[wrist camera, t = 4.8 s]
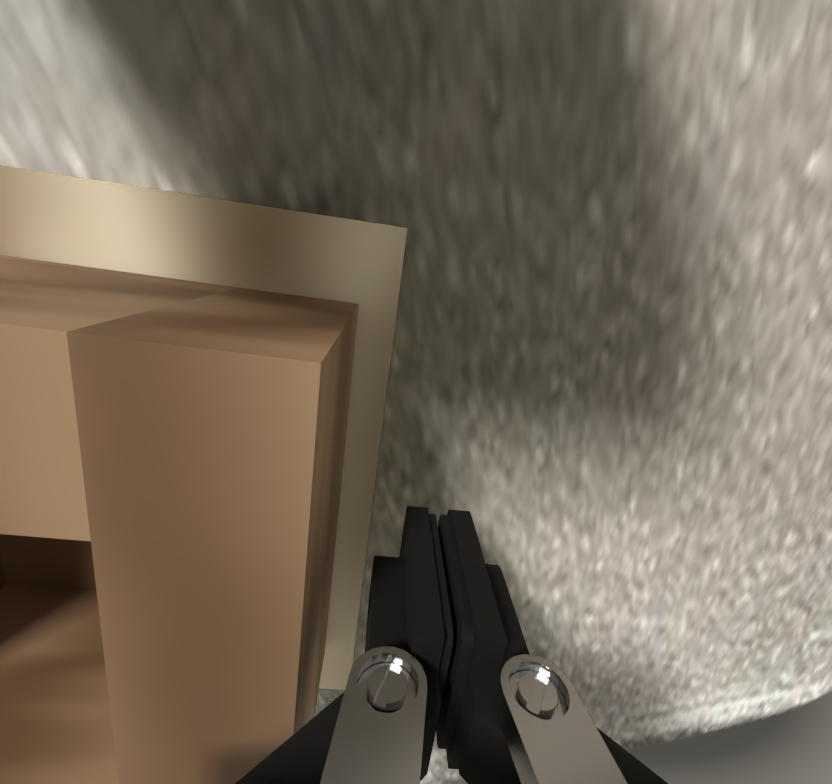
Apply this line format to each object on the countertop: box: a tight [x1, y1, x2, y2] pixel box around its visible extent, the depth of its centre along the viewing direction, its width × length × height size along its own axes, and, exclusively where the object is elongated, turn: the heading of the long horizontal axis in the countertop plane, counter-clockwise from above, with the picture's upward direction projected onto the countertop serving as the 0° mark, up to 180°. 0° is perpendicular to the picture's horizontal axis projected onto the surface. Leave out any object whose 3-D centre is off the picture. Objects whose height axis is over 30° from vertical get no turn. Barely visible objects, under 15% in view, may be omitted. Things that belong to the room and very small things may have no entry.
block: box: [0, 255, 359, 784], centre depth 9 cm, size 12×12×6 cm
